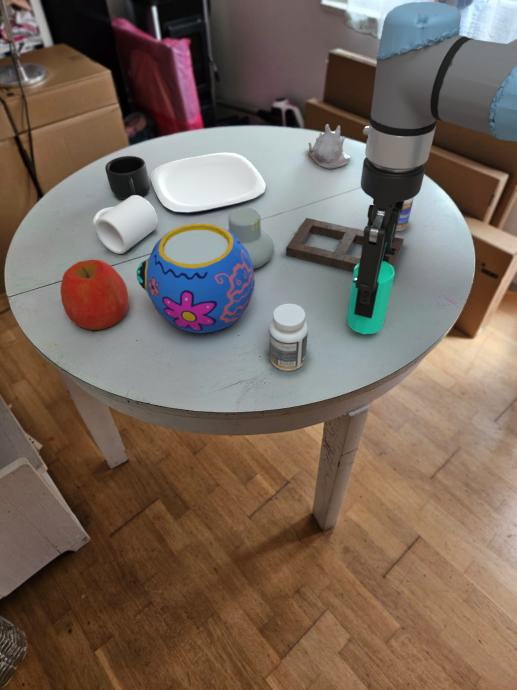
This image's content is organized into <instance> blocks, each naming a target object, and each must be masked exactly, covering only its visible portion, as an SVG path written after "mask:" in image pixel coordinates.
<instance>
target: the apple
mask: <svg viewBox="0 0 517 690" xmlns="http://www.w3.org/2000/svg"><path fill="white" fill-rule="evenodd" d="M61 280H62V281H61V284H60V299H61V304H62V307H63V309H64V311H65V314H66V316H67V317H68V318H69V320H71V322H73V323H74V325H75V324H76V325H77V326H78V327H81V328H83V329H86V330H89V331H99V330H100V331H102V330H105V329H108V328H111V327H112V326H114V325H116V324H118V323H119V322H120V321H121V320H122V319H123V318H124V317H125V316H126V315H127V312H128V308H129V293H128V287H127V285H126V283H125V281H124V279H123V278H122V276H121V275H120V273H118V272H117V271H116V269H115V268H114V267H113V266H111V264H109V263H107V262H105V261H103V260H101V259H94V258H93V259H87V260H82V261H78V262H76V263H74V264H73V265H71V266H70V267H69V268H68V269H66V270H65V271H64V274H63V275H62V279H61Z"/></svg>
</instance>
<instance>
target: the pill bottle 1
mask: <svg viewBox="0 0 517 690" xmlns="http://www.w3.org/2000/svg"><path fill="white" fill-rule="evenodd" d="M268 333H269V334H268V337H269V338H268V339H269V343H268V344H269V359H270V362H271V364H272V365H273V366H274V367H275V368H277V369H278V370H280V371H287V372H291V371H295V370H298V369H299V368H301V367H302V366H303V365H304V364H305V362H306V357H307V347H308V344H307V343H308V333H309V328H308V324H307V322H306V312H305V310H304V308H303V307H301V306H300V305H298V304H296V303H295V304H294V303H283V304H280V305H278V306H277V307H276V308H275V309H274V311H273V313H272V321H271V322H270V324H269V327H268Z"/></svg>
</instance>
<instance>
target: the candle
mask: <svg viewBox="0 0 517 690" xmlns="http://www.w3.org/2000/svg"><path fill="white" fill-rule="evenodd" d="M359 264H360V263H359ZM359 264H357V265H356V267H355V268H354V272H352V273H353V274H352V280H351V287H350V292H349V293H350V294H349V302H348V307H347V315H346V321H347V322H346V323H347V326H348V327H349V328H350V329H351V330H353V331H354V332H357V333H359V334H362V335H374V334H375V333H377V332H379V331H381V330H382V329H383V326H384V324H385V320H386V315H387V311H388V307H389V302H390V298H391V293H392V289H393V284H394V280H395V276H396V271H395V267H394V268H393V266H392V265H390V264H389V263H387V262H386V261H382V265H381V269H380V273H379V277H378V282H379V285H378V290H377V295H376V300H375V305H374V310H373V315H372V318H367V317H363V316H359V315H355V314H354V311H355V304H356V298H357V292H358V288H356V285H355V284H356V283H353V281H354V279H355V277H357V276H358V270H359Z"/></svg>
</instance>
